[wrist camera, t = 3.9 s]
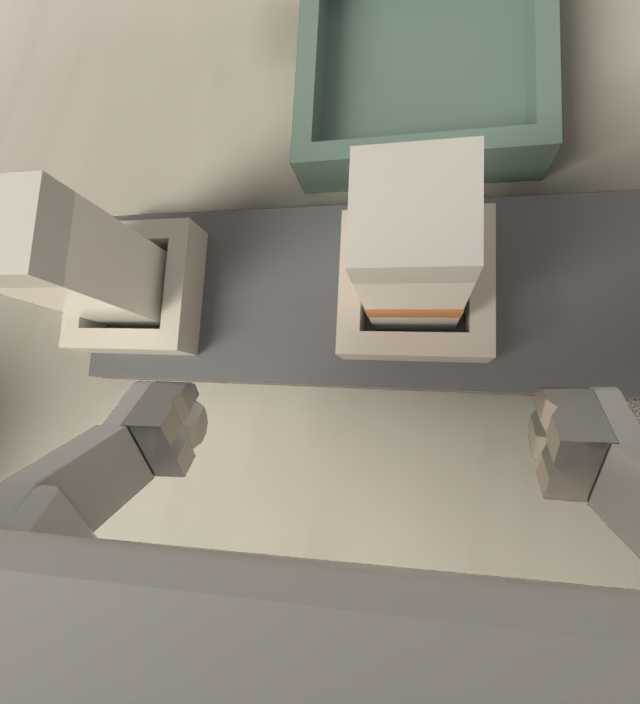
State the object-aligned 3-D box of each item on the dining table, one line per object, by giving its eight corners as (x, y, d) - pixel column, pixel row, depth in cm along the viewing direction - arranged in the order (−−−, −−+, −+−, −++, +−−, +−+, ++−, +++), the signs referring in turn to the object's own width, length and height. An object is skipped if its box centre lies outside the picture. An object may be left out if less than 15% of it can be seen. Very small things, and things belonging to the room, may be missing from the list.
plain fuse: (174, 327, 23) (27, 274, 14) (113, 326, 24) (-61, 275, 15) (180, 261, 24) (42, 170, 15) (121, 262, 24) (-44, 177, 16)
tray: (543, 179, 22) (562, 143, 19) (304, 193, 24) (289, 162, 21) (539, -36, 23) (557, -101, 20) (316, -2, 26) (303, -55, 23)
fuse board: (849, 407, 18) (950, 406, 14) (103, 378, 25) (55, 372, 22) (827, 196, 19) (916, 149, 16) (120, 227, 26) (77, 200, 23)
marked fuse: (454, 331, 20) (484, 266, 11) (374, 330, 21) (344, 269, 12) (455, 253, 21) (484, 134, 12) (376, 255, 21) (349, 145, 13)
